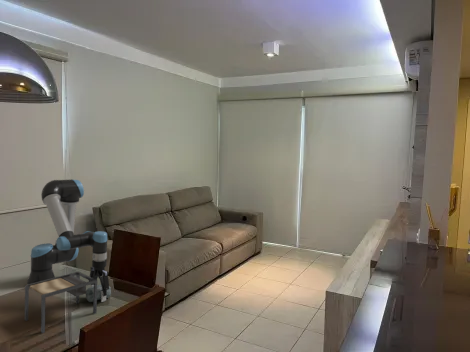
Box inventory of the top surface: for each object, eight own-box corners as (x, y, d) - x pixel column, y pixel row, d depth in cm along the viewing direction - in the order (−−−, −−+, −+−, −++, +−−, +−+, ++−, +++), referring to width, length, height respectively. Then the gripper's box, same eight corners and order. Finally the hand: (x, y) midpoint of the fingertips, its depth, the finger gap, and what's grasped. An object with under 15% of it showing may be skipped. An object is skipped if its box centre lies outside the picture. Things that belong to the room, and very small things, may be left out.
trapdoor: (71, 286, 187) (71, 275, 186) (85, 293, 178) (86, 282, 178) (29, 297, 170) (29, 285, 170) (43, 306, 162) (43, 294, 161)
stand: (77, 302, 193) (78, 271, 191) (96, 313, 182) (97, 280, 181) (24, 320, 171) (25, 285, 170) (42, 333, 160) (42, 295, 159)
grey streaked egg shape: (88, 300, 188) (90, 281, 193) (82, 303, 195) (84, 284, 199) (112, 301, 197) (114, 283, 201) (106, 303, 203) (108, 285, 207)
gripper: (82, 256, 200) (81, 294, 202) (104, 265, 187) (103, 306, 189) (94, 254, 206) (93, 291, 208) (117, 262, 193) (115, 302, 195)
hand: (98, 298), depth 198 cm, fingers closed on grey streaked egg shape, 9 cm apart
